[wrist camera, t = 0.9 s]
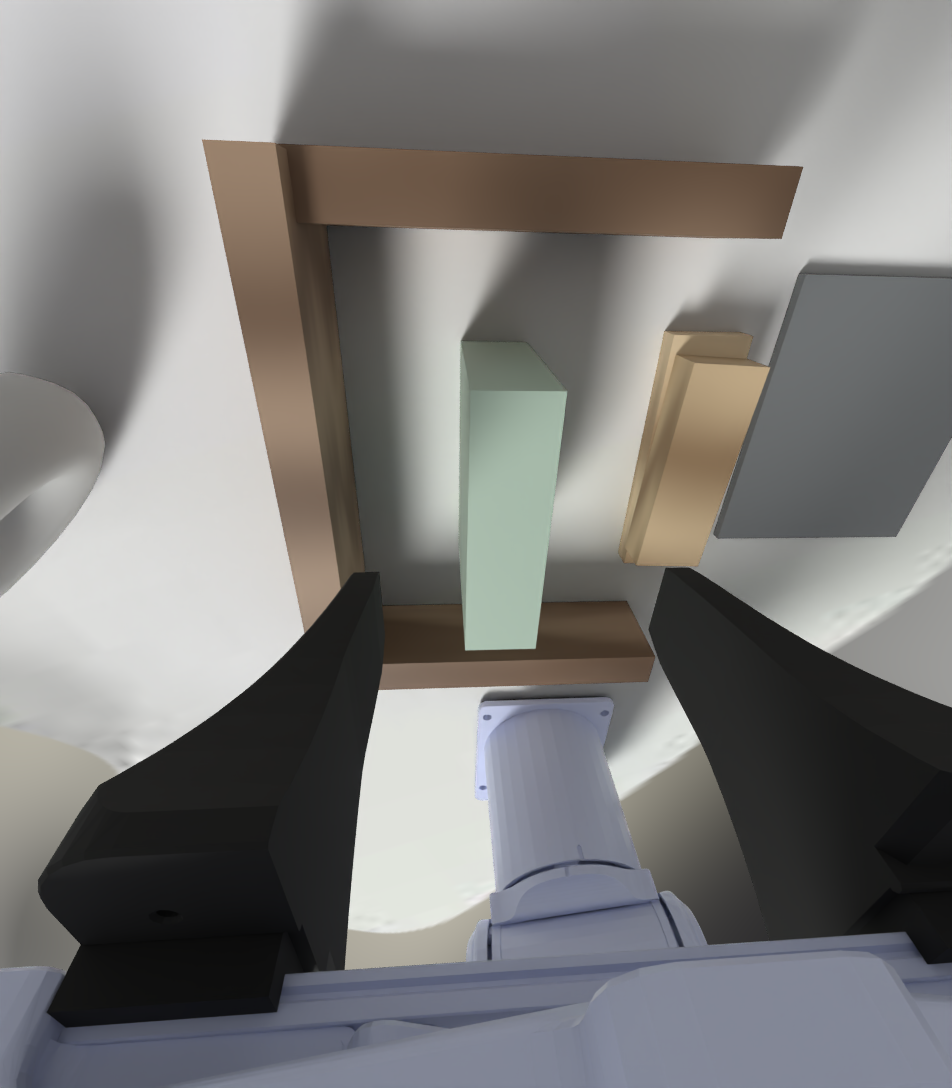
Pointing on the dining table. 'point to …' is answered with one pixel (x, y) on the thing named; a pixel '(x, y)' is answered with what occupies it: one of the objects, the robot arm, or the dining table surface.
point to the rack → (316, 366)
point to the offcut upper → (692, 457)
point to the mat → (847, 411)
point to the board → (506, 489)
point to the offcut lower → (671, 346)
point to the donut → (41, 468)
